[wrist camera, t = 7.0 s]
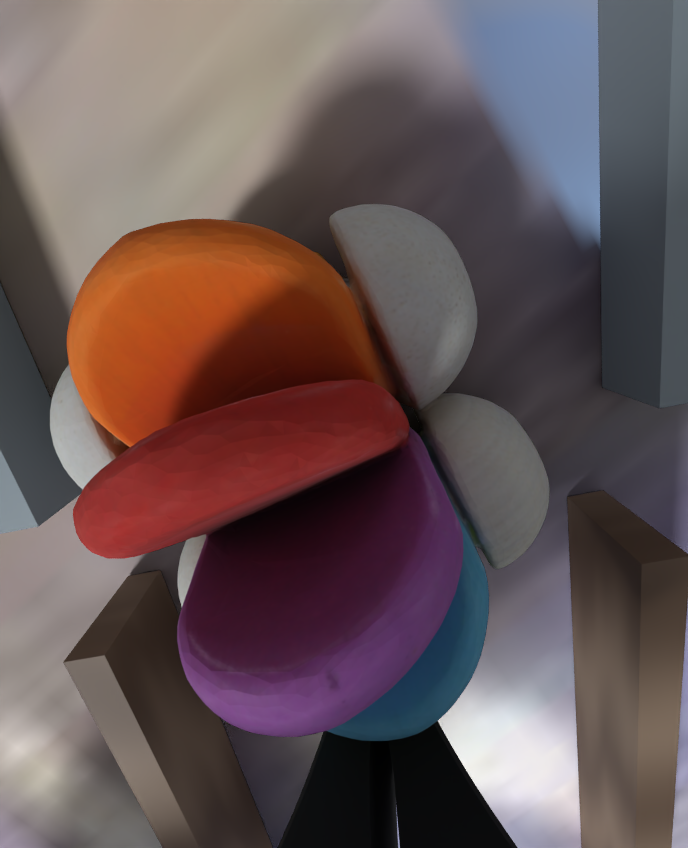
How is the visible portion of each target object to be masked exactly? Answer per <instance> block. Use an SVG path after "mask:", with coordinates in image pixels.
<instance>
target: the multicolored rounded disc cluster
mask: <svg viewBox="0 0 688 848" xmlns="http://www.w3.org/2000/svg"><path fill="white" fill-rule="evenodd" d="M329 226H330V229H331V232H332V236H333V238H334V241H335V244H336V247H337V249H338V251H339V253H340V256H341V258H342V260H343V263H344V265H345V268H346V272H347V278H345V277H343V276H341V275H340V274H338V273H337V272H336V270H335V269H334V268H333V267H332V266H331V265H330V264H329V263H327V261H326V260H325V259H324V258H323V257H322V255H321V254H319V253H318V252H313V251H311V250H310V249H308V248H306V247H305V246H303V245H301V244H300V243H298V242H296V241H294V240H292V239H290V238H288V237H286V236H284V235H282V234H279V233H277V232H275V231H273V230H271V229H268V228H264V227H261V226H258V225H254V224H249V223H242V222H236V221H229V220H215V219H188V220H180V221H173V222H166V223H160V224H156V225H153V226H149V227H146V228H143V229H139V230H136V231H133V232H130V233H128V234H126V235H124V236H123V237H122V238H120V239H119V240H118V241H117V242H116V243H115V244H114V245H113V246H112V247H111V248H110V249H109V250H108V251H107V252H106V253H105V254H104V255H103V256H102V257H101V258H100V259H99V261H98V262H97V263H96V264H95V266H94V267H93V268H92V270H91V271H90V273H89V274H88V276H87V277H86V279H85V280H84V282H83V284H82V286H81V288H80V291H79V293H78V295H77V297H76V300H75V303H74V306H73V309H72V312H71V317H70V321H69V326H68V331H67V353H68V360H69V364H68V366H67V367H66V369H65V370H64V372H63V373H62V375H61V377H60V379H59V381H58V383H57V386H56V389H55V391H54V394H53V397H52V402H51V408H50V431H51V436H52V440H53V445H54V448H55V450H56V453H57V455H58V457H59V459H60V461H61V463H62V465H63V467H64V469H65V470H66V471H67V473H68V474H69V476H70V477H71V478H72V479H73V480H74V481H75V482H76V484H77V485H78V486H79V487H80V488H82V489H83V490H82V492H81V495H80V496H79V498H78V500H77V502H76V505H75V507H74V509H73V518H74V524H75V528H76V533H77V535H78V537H79V539H80V541H81V542H82V543H83V544H84V545H85V546H86V548H87V549H89V550H90V551H91V552H92V553H95V554H97V555H100V556H103V557H105V558H129V557H135V556H139V555H142V554H145V553H149V552H153V551H156V550H159V549H161V548H164V547H167V546H171V545H174V544H176V543H179V542H182V541H185V540H186V542H185V545H184V548H183V550H182V554H181V557H180V562H179V568H178V592H179V599H180V602H181V606H182V609H181V612H180V616H179V621H178V626H177V642H178V648H179V654H180V658H181V662H182V666H183V669H184V672H185V675H186V678H187V680H188V681H189V683H190V685H191V686H192V688H193V689H194V691H195V692H196V694H197V695H198V696H199V697H200V699H201V700H202V701H203V702H204V703H205V704H206V705H207V706H208V707H209V708H210V709H211V710H212V711H213V712H214V713H215V714H216V715H218V716H219V717H221V718H222V719H224V720H225V721H227V722H228V723H230V724H231V725H233V726H236V727H238V728H240V729H243V730H245V731H248V732H252V733H256V734H261V735H269V736H277V737H300V736H305V735H310V734H315V733H319V732H324V731H328V732H331V733H333V734H336V735H340V736H343V737H347V738H351V739H356V740H362V741H389V740H395V739H402V738H406V737H409V736H412V735H415V734H418V733H420V732H422V731H423V730H425V729H427V728H428V727H430V726H431V725H432V724H434V723H435V722H437V721H438V720H439V719H440V718H441V717H442V716H443V715H444V714H445V713H446V712H447V711H448V710H449V709H450V708H451V707H452V706H453V705H454V703H455V702H456V701H457V699H458V698H459V696H460V695H461V694H462V692H463V691H464V689H465V688H466V686H467V684H468V683H469V681H470V679H471V678H472V676H473V673H474V671H475V669H476V667H477V664H478V661H479V659H480V656H481V652H482V648H483V644H484V640H485V635H486V629H487V622H488V614H489V592H488V581H487V576H486V572H485V568H484V566H483V563H482V561H481V559H480V557H479V555H478V552H477V550H476V548H475V547H478V548H480V549H481V550H482V551H483V553H484V555H485V557H486V558H487V560H488V562H489V563H490V565H491V566H492V567H493V568H495V569H501V568H504V567H506V566H508V565H509V564H511V563H512V562H514V561H515V560H516V559H518V558H519V557H520V556H521V555H522V554H523V553H524V552H525V551H526V550H527V549H528V548H529V547H530V545H531V544H532V543H533V541H534V540H535V538H536V537H537V535H538V533H539V531H540V529H541V527H542V525H543V522H544V520H545V517H546V514H547V510H548V504H549V481H548V477H547V473H546V470H545V467H544V465H543V463H542V460H541V458H540V456H539V454H538V452H537V450H536V448H535V446H534V445H533V443H532V441H531V439H530V438H529V437H528V435H527V434H526V432H525V431H524V429H523V428H522V427H521V425H520V424H519V422H518V421H517V420H516V419H515V418H514V417H513V416H512V415H511V414H510V413H509V412H507V411H506V410H505V409H503V408H501V407H500V406H498V405H496V404H494V403H492V402H490V401H488V400H485V399H482V398H478V397H475V396H471V395H465V394H459V393H444V394H442V393H443V392H444V391H445V390H446V389H447V388H448V387H449V386H450V385H451V383H452V382H453V381H454V380H455V378H456V377H457V376H458V374H459V372H460V371H461V369H462V368H463V366H464V364H465V362H466V360H467V358H468V356H469V353H470V351H471V349H472V346H473V342H474V338H475V334H476V329H477V306H476V301H475V296H474V291H473V288H472V285H471V282H470V279H469V276H468V273H467V271H466V269H465V266H464V264H463V261H462V259H461V257H460V256H459V254H458V252H457V250H456V248H455V247H454V245H453V244H452V242H451V240H450V239H449V238H448V237H447V235H446V234H445V233H444V232H443V231H442V230H441V229H440V228H439V227H438V226H437V225H435V224H434V223H432V222H431V221H429V220H428V219H426V218H424V217H423V216H421V215H419V214H417V213H415V212H412V211H410V210H407V209H404V208H400V207H397V206H393V205H385V204H361V205H357V206H352V207H348V208H344V209H341V210H338V211H336V212H335V213H334V214H332V215H331V216H330V219H329ZM399 402H400V403H402V404H405V405H407V406H410V407H412V408H413V410H414V413H415V415H416V417H417V420H418V423H419V425H420V427H421V431H420V433H419V434H417V433H416V432H415V431H414V430H413V429H412V428H410V427H409V422H408V419H407V417H406V415H405V413H404V411H403V409H402V407H401V406H400V404H399Z"/></svg>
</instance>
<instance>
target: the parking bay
mask: <svg viewBox="0 0 688 848" xmlns="http://www.w3.org/2000/svg"><path fill="white" fill-rule="evenodd" d="M598 38H599V39H598V40H599V41H598V42H599V43H598V44H599V135H600V136H599V137H600V230H601V323H602V388H605V389H608V390H610V391H613V392H616V393H619V394H621V395H624V396H627V397H630V398H632V399H635V400H638V401H641V402H643V403H646V404H649V405H652V406H654V407H657V408H664V407H670V406H675V405H680V404H685V403H688V0H598ZM51 402H52V401H51V398H50V396H49V394H48V391H47V389H46V387H45V385H44V382H43V380H42V378H41V375H40V373H39V371H38V369H37V366H36V364H35V362H34V359H33V357H32V355H31V353H30V350H29V348H28V346H27V343H26V341H25V339H24V337H23V334H22V332H21V330H20V327H19V325H18V323H17V321H16V318H15V316H14V314H13V311H12V309H11V307H10V305H9V302H8V300H7V298H6V295H5V293H4V291H3V289H2V286H1V284H0V534H2V533H7V532H12V531H17V530H23V529H28V528H33V527H38V526H40V525H41V524H42V523H44V522H45V521H46V520H47V519H49V518H50V517H51V516H53V515H54V514H55V513H57V512H58V511H59V510H60V509H62V508H63V507H64V506H66V505H67V504H68V503H70V502H71V501H72V500H73V499H75V498H76V497H77V496H79V495H80V494H81V492H82V490H83V489H82V488H80V487H79V486H78V485H77V484H76V482H75V481H74V480H73V479H72V478H71V477H70V476H69V474H68V473H67V471H66V470H65V469H64V467H63V465H62V463H61V461H60V459H59V457H58V455H57V453H56V450H55V448H54V445H53V440H52V436H51V431H50V408H51Z"/></svg>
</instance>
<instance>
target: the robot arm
mask: <svg viewBox="0 0 688 848" xmlns="http://www.w3.org/2000/svg"><path fill="white" fill-rule="evenodd" d="M396 806H397V815H396ZM397 817H398V828H399V840H400V848H517V846H516V845H515V843H514V842H513V841H512V839H511V838H510V836H509V835H508V833H507V832H506V830H505V829H504V828H503V826H502V825H501V823H500V822H499V820H498V819H497V817H496V816H495V814H494V813H493V812H492V810H491V809H490V807H489V805H488V804H487V802H486V801H485V799H484V798H483V796H482V795H481V793H480V792H479V790H478V789H477V787H476V786H475V784H474V782H473V781H472V779H471V778H470V776H469V774H468V773H467V771H466V770H465V768H464V766H463V765H462V763H461V761H460V760H459V758H458V756H457V755H456V753H455V751H454V749H453V748H452V746H451V744H450V742H449V741H448V739H447V737H446V736H445V734H444V732H443V730H442V728H441V726H440V725H439V723H438V721H437V722H435V723H434V724H432V725H431V726H430V727H428V728H427V729H425V730H423V731H422V732H420V733H418V734H415V735H412V736H409V737H406V738H402V739H395V740H389V741H362V740H356V739H351V738H347V737H343V736H340V735H336V734H333V733H331V732H328V731H324V732H323V735H322V738H321V741H320V744H319V747H318V749H317V752H316V755H315V758H314V760H313V763H312V766H311V769H310V772H309V774H308V777H307V780H306V782H305V785H304V787H303V790H302V792H301V795H300V797H299V800H298V802H297V804H296V807H295V809H294V812H293V814H292V816H291V819H290V821H289V823H288V825H287V828H286V830H285V832H284V835H283V837H282V839H281V841H280V843H279V845H278V847H277V848H398V836H397Z"/></svg>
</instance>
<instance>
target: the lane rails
mask: <svg viewBox="0 0 688 848" xmlns="http://www.w3.org/2000/svg"><path fill="white" fill-rule="evenodd" d="M567 504H568V528H569V552H570V577H571V601H572V626H573V650H574V674H575V699H576V723H577V747H578V772H579V796H580V821H581V845H582V848H671V845H672V829H673V814H674V799H675V783H676V768H677V753H678V737H679V722H680V707H681V691H682V676H683V661H684V646H685V630H686V615H687V600H688V554H687V553H686V552H684V551H683V550H682V549H680V548H679V547H678V546H676V545H675V544H674V543H672V542H671V541H670V540H668V539H667V538H666V537H665V536H663V535H662V534H661V533H659V532H658V531H657V530H655V529H654V528H653V527H651V526H650V525H649V524H647V523H646V522H645V521H643V520H642V519H641V518H639V517H638V516H637V515H635V514H634V513H633V512H631V511H630V510H629V509H627V508H626V507H625V506H623V505H622V504H621V503H619V502H618V501H617V500H615V499H614V498H613V497H612V496H610V495H609V494H608V493H606V492H605V491H604V490H602V491H597V492H591V493H586V494H580V495H574V496H569V497H567ZM178 621H179V615H178V613H177V611H176V608H175V606H174V603H173V601H172V598H171V596H170V593H169V591H168V588H167V586H166V583H165V581H164V579H163V576H162V574H161V571H160V570H159V571H153V572H148V573H142V574H137V575H131V576H128V577H127V578H126V580H125V581H124V582H123V584H122V585H121V586H120V588H119V589H118V590H117V592H116V593H115V594H114V596H113V597H112V598H111V600H110V601H109V602H108V604H107V605H106V606H105V608H104V609H103V610H102V612H101V613H100V614H99V616H98V617H97V618H96V619H95V621H94V622H93V623H92V625H91V626H90V627H89V629H88V630H87V631H86V633H85V634H84V635H83V637H82V638H81V639H80V641H79V642H78V643H77V645H76V646H75V647H74V649H73V650H72V651H71V653H70V654H69V655H68V657H67V658H66V659H65V661H64V662H63V663H64V665H65V667H66V669H67V670H68V672H69V674H70V676H71V678H72V680H73V682H74V683H75V685H76V687H77V689H78V691H79V693H80V695H81V696H82V698H83V700H84V702H85V704H86V706H87V708H88V709H89V711H90V713H91V715H92V717H93V719H94V721H95V722H96V724H97V726H98V728H99V730H100V732H101V734H102V736H103V737H104V739H105V741H106V743H107V745H108V747H109V749H110V750H111V752H112V754H113V756H114V758H115V760H116V762H117V763H118V765H119V767H120V769H121V771H122V773H123V775H124V776H125V778H126V780H127V782H128V784H129V786H130V788H131V790H132V791H133V793H134V795H135V797H136V799H137V801H138V803H139V804H140V806H141V808H142V810H143V812H144V814H145V816H146V817H147V819H148V821H149V823H150V825H151V827H152V829H153V830H154V832H155V834H156V836H157V838H158V840H159V842H160V843H161V845H162V847H163V848H273V847H272V844H271V842H270V839H269V837H268V834H267V832H266V829H265V827H264V824H263V822H262V820H261V817H260V815H259V812H258V810H257V807H256V805H255V802H254V800H253V797H252V795H251V792H250V790H249V788H248V785H247V783H246V780H245V778H244V775H243V773H242V770H241V768H240V765H239V763H238V761H237V758H236V756H235V753H234V751H233V748H232V746H231V743H230V741H229V738H228V736H227V733H226V731H225V729H224V726H223V724H222V721H221V719H220V717H219V716H218V715H216V714H215V713H214V712H213V711H212V710H211V709H210V708H209V707H208V706H207V705H206V704H205V703H204V702H203V701H202V700H201V699H200V697H199V696H198V695H197V694H196V692H195V691H194V689H193V688H192V686H191V685H190V683H189V681H188V680H187V678H186V675H185V672H184V669H183V666H182V662H181V658H180V654H179V648H178V642H177V626H178Z"/></svg>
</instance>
